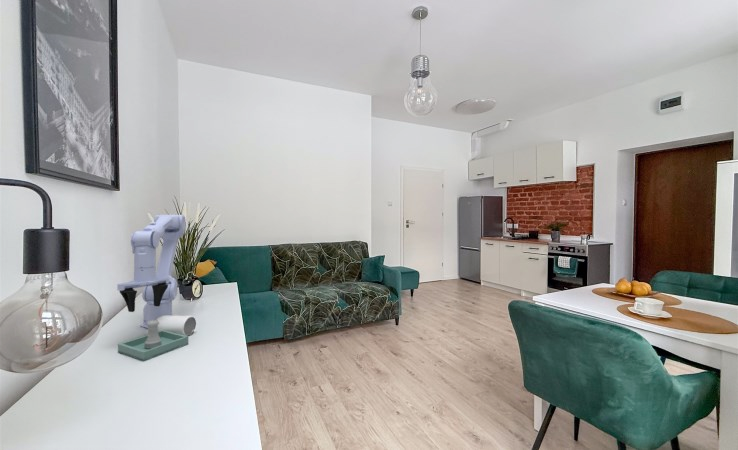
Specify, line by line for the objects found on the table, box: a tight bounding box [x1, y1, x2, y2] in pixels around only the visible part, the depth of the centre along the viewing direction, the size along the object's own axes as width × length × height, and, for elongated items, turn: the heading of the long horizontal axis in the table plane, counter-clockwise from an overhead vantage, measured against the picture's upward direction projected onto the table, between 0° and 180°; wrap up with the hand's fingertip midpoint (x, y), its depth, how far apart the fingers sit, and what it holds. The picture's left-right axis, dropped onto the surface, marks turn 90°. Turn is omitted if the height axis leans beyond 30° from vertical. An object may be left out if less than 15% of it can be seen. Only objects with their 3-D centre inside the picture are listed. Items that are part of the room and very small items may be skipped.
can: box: [154, 315, 197, 337], centre depth 104 cm, size 6×6×12 cm
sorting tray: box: [117, 330, 189, 362], centre depth 93 cm, size 13×13×2 cm
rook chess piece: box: [144, 319, 162, 349], centre depth 93 cm, size 4×4×8 cm
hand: (144, 308), depth 99 cm, fingers open, 7 cm apart
